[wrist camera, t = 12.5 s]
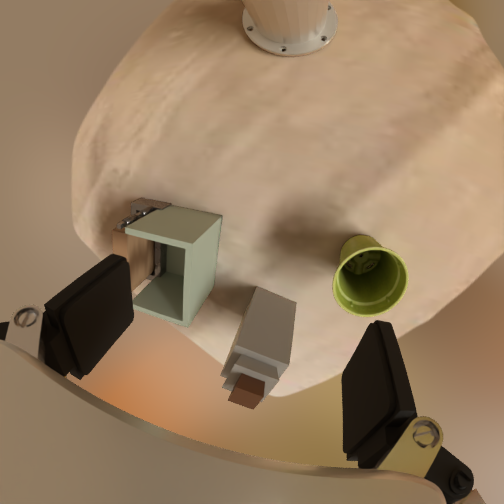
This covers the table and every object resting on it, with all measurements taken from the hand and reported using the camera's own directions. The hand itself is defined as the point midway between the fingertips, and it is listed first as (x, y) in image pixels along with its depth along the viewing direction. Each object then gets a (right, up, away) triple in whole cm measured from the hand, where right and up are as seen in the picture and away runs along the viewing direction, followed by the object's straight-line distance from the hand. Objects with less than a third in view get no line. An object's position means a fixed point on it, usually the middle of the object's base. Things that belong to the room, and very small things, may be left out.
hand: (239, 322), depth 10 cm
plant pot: (+16, +2, +27) cm, 32 cm away
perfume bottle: (+3, -7, +34) cm, 35 cm away
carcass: (-9, +3, +32) cm, 33 cm away
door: (-15, +5, +33) cm, 36 cm away
